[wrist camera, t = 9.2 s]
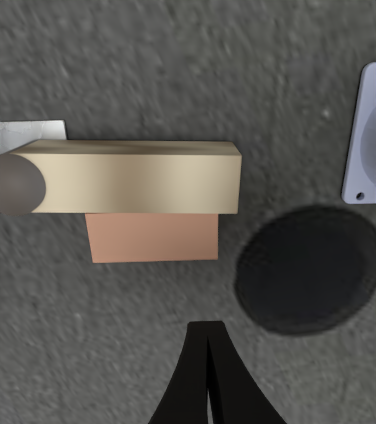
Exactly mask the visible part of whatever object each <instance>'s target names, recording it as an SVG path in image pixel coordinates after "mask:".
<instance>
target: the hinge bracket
mask: <svg viewBox="0 0 376 424" xmlns="http://www.w3.org/2000/svg"><path fill="white" fill-rule="evenodd" d="M34 140H68V137H67V131H66V125H65V120H45V121H12V122H0V154H2V153H5V152H7V151H9V150H12V149H14V148H16V147H19V146H21V145H23V144H26V143H28V142H31V141H34Z"/></svg>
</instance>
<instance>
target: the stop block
mask: <svg viewBox="0 0 376 424" xmlns="http://www.w3.org/2000/svg"><path fill="white" fill-rule="evenodd" d="M85 217H86V223H87V229H88V235H89V241H90V247H91V253H92V259H93V263H105V262H141V261H176V260H211V259H218V214H200V213H85Z"/></svg>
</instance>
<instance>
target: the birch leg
mask: <svg viewBox="0 0 376 424" xmlns="http://www.w3.org/2000/svg"><path fill="white" fill-rule="evenodd" d="M241 158H242V155H241V154H240V153H239V151H238V150H237V148H236V147H235V145H234V144H233V142H212V141H106V140H34V141H31V142H28V143H26V144H23V145H21V146H19V147H16V148H14V149H12V150H9V151H7V152H5V153H2V154H0V213H3V214H5V215H10V216H23V215H26V214H29V213H31V212H59V213H200V214H237V211H238V198H239V185H240V172H241Z"/></svg>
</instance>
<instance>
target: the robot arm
mask: <svg viewBox="0 0 376 424" xmlns="http://www.w3.org/2000/svg"><path fill="white" fill-rule="evenodd" d="M358 193H361V196H360V197H359V198H356V196H357V194H358ZM342 199H343V201H345V202H346V203H347V204H369V203H376V62H372V63H369V64H367V65H366V66H365V67H364V69H363V71H362V75H361V81H360V87H359V93H358V99H357V105H356V111H355V117H354V123H353V129H352V135H351V141H350V147H349V153H348V159H347V165H346V171H345V177H344V183H343V189H342ZM208 391H209V398H210V404H211V411H212V417H213V424H287V423H286V422H285V421H284V420H283V419H282V417H281V416H280V415H279V414H278V412H277V411H276V410H275V409H274V407H273V406H272V405H271V403H270V402H269V401H268V400H267V398H266V397H265V396H264V394H263V393H262V391H261V390H260V388H259V387H258V386H257V384H256V383H255V381H254V380H253V378H252V376H251V375H250V373H249V372H248V370H247V369H246V367H245V365H244V363H243V362H242V360H241V358H240V356H239V355H238V353H237V351H236V349H235V347H234V345H233V343H232V341H231V339H230V337H229V335H228V332H227V330H226V327H225V324H224V323H223V322H222V321H195V322H189V323H188V325H187V333H186V338H185V342H184V345H183V349H182V352H181V355H180V358H179V360H178V363H177V366H176V369H175V371H174V373H173V376H172V378H171V380H170V383H169V385H168V387H167V389H166V391H165V393H164V395H163V397H162V399H161V401H160V403H159V405H158V407H157V409H156V411H155V413H154V414H153V416H152V418H151V419H150V421H149V423H148V424H208V415H207V400H208Z"/></svg>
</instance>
